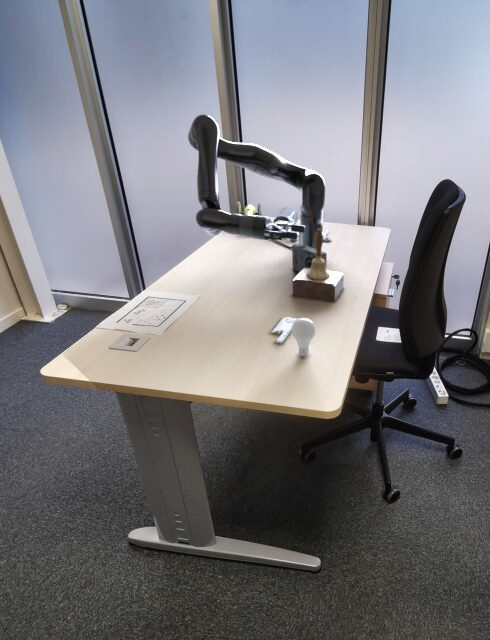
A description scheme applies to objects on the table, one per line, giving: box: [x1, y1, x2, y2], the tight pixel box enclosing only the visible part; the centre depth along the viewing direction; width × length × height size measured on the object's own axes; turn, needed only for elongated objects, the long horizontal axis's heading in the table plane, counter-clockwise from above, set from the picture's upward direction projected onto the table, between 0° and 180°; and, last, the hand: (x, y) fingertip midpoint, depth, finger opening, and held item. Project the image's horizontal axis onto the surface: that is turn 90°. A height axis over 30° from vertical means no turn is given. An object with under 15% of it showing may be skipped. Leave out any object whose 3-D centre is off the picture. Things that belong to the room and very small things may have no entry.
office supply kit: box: [272, 206, 331, 243], centre depth 220 cm, size 40×28×9 cm
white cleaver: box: [270, 316, 298, 344], centre depth 132 cm, size 5×15×1 cm, turn 168°
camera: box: [291, 242, 328, 273], centre depth 170 cm, size 16×4×10 cm, turn 47°
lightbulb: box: [290, 317, 316, 357], centre depth 118 cm, size 6×6×11 cm
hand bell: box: [306, 229, 330, 280], centre depth 150 cm, size 8×8×16 cm
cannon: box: [236, 200, 263, 216], centre depth 217 cm, size 25×12×11 cm, turn 6°
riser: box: [292, 268, 345, 303], centre depth 156 cm, size 15×13×6 cm
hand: (301, 232), depth 148 cm, fingers open, 8 cm apart
